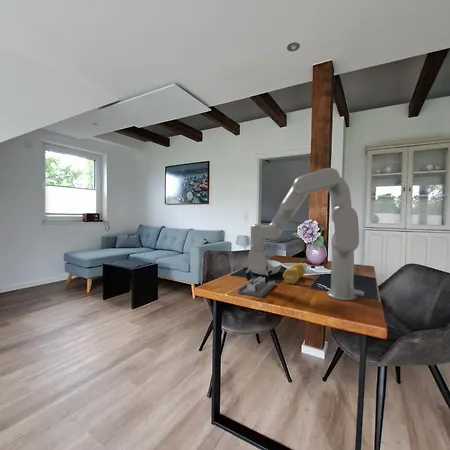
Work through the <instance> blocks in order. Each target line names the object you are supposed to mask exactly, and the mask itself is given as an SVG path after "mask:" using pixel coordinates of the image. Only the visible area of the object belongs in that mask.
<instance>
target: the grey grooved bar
mask: <svg viewBox="0 0 450 450" xmlns="http://www.w3.org/2000/svg"><path fill="white" fill-rule="evenodd" d="M248 282H249V281H248ZM248 282H247V283H248ZM265 284H266V283H265V276H264V277H263V276H258V277H257V278H256V279H255V280H254V281H252V282H249V283H248V284H247V291H249V292H256V291H257V290H258V289H260V288H261V287H262V286H263V285H265Z"/></svg>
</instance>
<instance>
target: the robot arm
mask: <svg viewBox="0 0 450 450" xmlns="http://www.w3.org/2000/svg"><path fill="white" fill-rule="evenodd" d="M321 190H327V191H328V193H329V195H330V203H331V206H330V207H331V216H330V217H331V220H332V222H333V224H334V225H333V226H334V232H333V234H332V236H331V242H330V243H331V270H330V271H331V272H330V273H331V274H330V275H331V276H330V289H329V290H328V291H327V292H326V295H327V296H329V297H330V298H333V299H335V300H339V301H340V300H341V301H353V300H356V299H357V296H361V297H363V296H365V291H362V290H360V289H356V288H355V286H354V276H355V275H354V267H355V266H354V265H355V251H356V250H357V248H359V245H360V244H359V243H360V229H359V228H360V227H359V216H358V212H357V211H356V210H355V209H354V208H353V207H352V206H353V205H352V198H351V196H352V195H351V191H350V187H349V185H348V183H347V181H346V180H344V178H342V176H340V173H339V171H338V170H337V169H335V168H333V167H326V168H325V167H324V168H323V169H320V170H315V171H313V172H310V173H309V172H308V173H306V174H302V175H300V176H298V177H296V178H295V180H294V182H293V184H292V186H291V188H290V189H289V190H288V192H287V194H286V195H285V196H284V198H283V200H282V201H281V203H280V205H279V207H278V208H279V209H278V211H277V212H276V214H275V215H274V217H273V219H272V221H271V222H270V223H269V224H267V225H265V224H262V223H257V224H256V223H255V224H251V226H250V250H249V252H248V257H247V261H246V262H244V263H242V264H241V266H242V269H243V270H244V272H245V273H246V281H247V282H249V281H251V280H252V276H251V274H252V273H251V272H252V271H251V270H253V271H262V272H264V273H265V274H266V275H264V277H265V283H266V284H267V283H268V282H270V274H271V273H272V272H273V270H274V268H275V267H274V266H272V265H270V264H269V263H268V260H269V255H268V251H267V250H269V246H266V240H271V241H275V240H277V239H279V238H280V236H281V234H282V233H283V231H284V230H285V228H286V227H287V226H288V224H289V222H290V220H291V219H292V218H294V216H295V215H296V213H297V212H298V210H299V209H300V208H301V206H302V205H303V203H304V201H305V200H306V198H307V197H308V195H309V194H310V193H315V192H318V191H321ZM246 265H247V266H246ZM268 268H271V270H270V271H268ZM271 275H272V274H271Z"/></svg>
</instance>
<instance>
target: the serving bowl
mask: <svg viewBox="0 0 450 450" xmlns="http://www.w3.org/2000/svg"><path fill="white" fill-rule="evenodd" d="M268 263H269V264H270V265H272V266H274V267H275V268H274V270H273V272H272V273H271V274H270V275H275V274H277V273H278V272H279V271H280V270H281V268H282V262H280V261H276V260H270V259H268ZM270 270H271V268H268V271H270ZM250 272H252V273H254V274H256V275H259V276H266V274H265V273H264V272H262V271H253V270H251V271H250ZM270 275H269V276H270Z"/></svg>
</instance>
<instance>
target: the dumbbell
mask: <svg viewBox="0 0 450 450" xmlns="http://www.w3.org/2000/svg"><path fill="white" fill-rule="evenodd" d="M305 273H306V269H305V267H304V265H303V264H302V263H293V264H292V266H291V268H289V267H288V268H286V269H285V270H284V272H283V274H282V279H284V281H285V283H286V284H292V285H295V284H297V282H298V281H299V280H300V279H301V278H303V277H304V275H305Z"/></svg>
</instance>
